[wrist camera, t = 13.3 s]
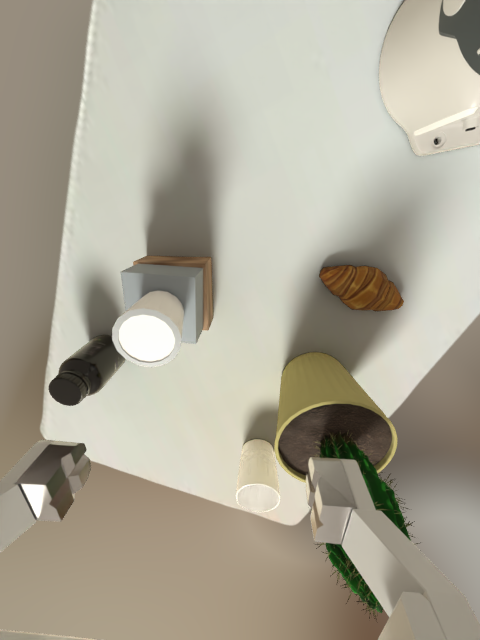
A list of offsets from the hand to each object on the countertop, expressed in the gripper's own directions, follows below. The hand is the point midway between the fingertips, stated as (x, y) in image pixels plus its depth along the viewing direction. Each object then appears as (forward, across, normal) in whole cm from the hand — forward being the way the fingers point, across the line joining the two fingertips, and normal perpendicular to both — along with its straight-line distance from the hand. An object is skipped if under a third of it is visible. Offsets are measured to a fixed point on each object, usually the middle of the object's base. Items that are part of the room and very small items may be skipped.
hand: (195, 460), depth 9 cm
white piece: (+23, +10, +4) cm, 25 cm away
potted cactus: (+33, -13, +20) cm, 41 cm away
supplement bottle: (+33, +24, +16) cm, 44 cm away
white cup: (+33, -4, +39) cm, 52 cm away
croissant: (+34, -18, +2) cm, 38 cm away
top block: (+28, +10, +4) cm, 30 cm away
